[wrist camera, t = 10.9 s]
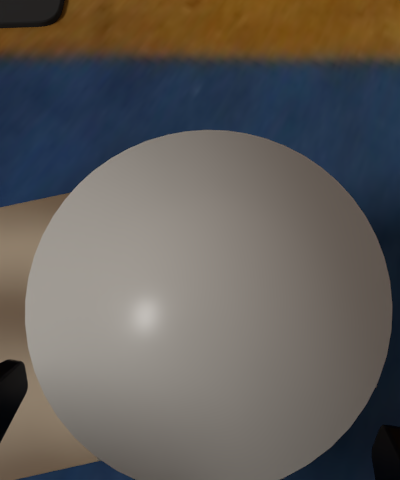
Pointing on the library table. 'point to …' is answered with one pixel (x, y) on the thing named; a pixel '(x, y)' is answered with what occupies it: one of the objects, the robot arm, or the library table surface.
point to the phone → (29, 13)
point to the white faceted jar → (208, 309)
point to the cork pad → (16, 348)
